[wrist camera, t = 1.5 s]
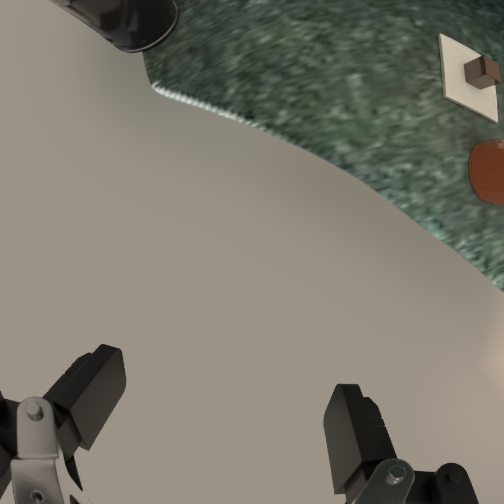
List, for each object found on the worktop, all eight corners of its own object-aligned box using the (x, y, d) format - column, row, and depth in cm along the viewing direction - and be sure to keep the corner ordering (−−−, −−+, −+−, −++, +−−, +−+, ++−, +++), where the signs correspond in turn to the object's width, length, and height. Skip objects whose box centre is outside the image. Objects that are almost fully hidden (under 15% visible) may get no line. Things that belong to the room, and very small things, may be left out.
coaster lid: (437, 34, 23) (457, 19, 17) (489, 63, 22) (511, 54, 17) (442, 97, 25) (468, 88, 20) (494, 123, 25) (520, 120, 19)
